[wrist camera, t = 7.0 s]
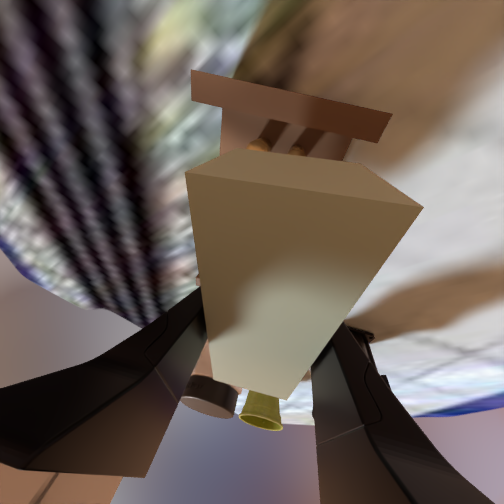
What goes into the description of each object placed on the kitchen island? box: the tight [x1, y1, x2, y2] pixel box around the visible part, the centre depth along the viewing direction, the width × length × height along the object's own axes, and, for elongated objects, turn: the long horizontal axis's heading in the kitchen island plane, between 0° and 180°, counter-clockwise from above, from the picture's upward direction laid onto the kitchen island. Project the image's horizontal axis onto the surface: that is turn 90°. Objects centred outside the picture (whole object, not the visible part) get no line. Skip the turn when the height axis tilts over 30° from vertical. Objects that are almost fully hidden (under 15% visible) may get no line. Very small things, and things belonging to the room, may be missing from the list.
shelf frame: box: [191, 70, 392, 286], centre depth 16 cm, size 16×10×6 cm, turn 170°
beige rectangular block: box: [185, 148, 424, 400], centre depth 9 cm, size 12×4×4 cm, turn 175°
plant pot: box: [239, 390, 283, 431], centre depth 41 cm, size 9×9×9 cm
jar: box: [180, 339, 242, 419], centre depth 30 cm, size 9×8×12 cm
